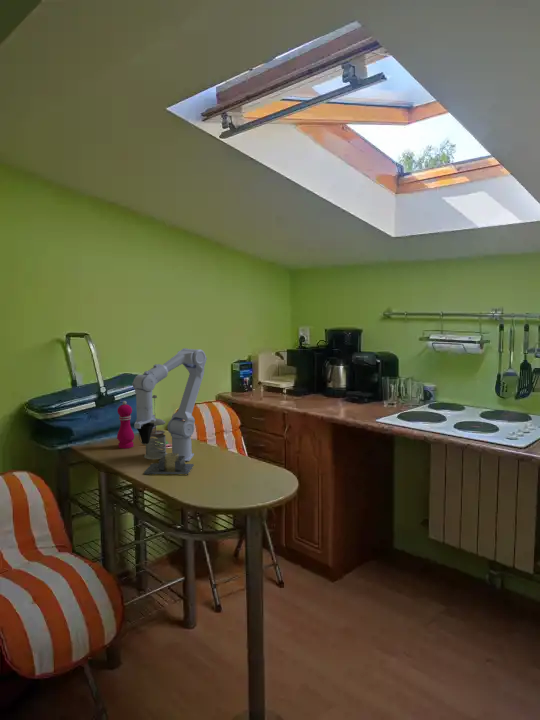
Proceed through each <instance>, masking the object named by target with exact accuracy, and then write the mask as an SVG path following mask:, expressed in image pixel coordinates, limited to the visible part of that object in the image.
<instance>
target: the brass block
mask: <svg viewBox="0 0 540 720" xmlns="http://www.w3.org/2000/svg"><path fill="white" fill-rule="evenodd" d="M178 457H179V454H178V453H172V452H167V455H166V456H165V469H168V470H175V461H176V460H177V458H178Z"/></svg>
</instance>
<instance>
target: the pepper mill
mask: <svg viewBox="0 0 540 720" xmlns="http://www.w3.org/2000/svg"><path fill="white" fill-rule="evenodd" d="M127 403H128V402H127V401H126V400H123V401H122V404H121V405H119V406H118V408H117V414H118V417H119V418H118V420H119V421H120V426H119V429H118V431H117V436H116V439H117V441H118V445H117V446H118V448H119V449H122V448H123V449H124V450H125V449H132V448H133V447H134V442H133V441H134V439H135V433H134V431H133V429H132V426H131V419H132V415H131V414H132V412H133V408H132V406H130V405H129V404H127ZM131 447H132V448H131Z"/></svg>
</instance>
